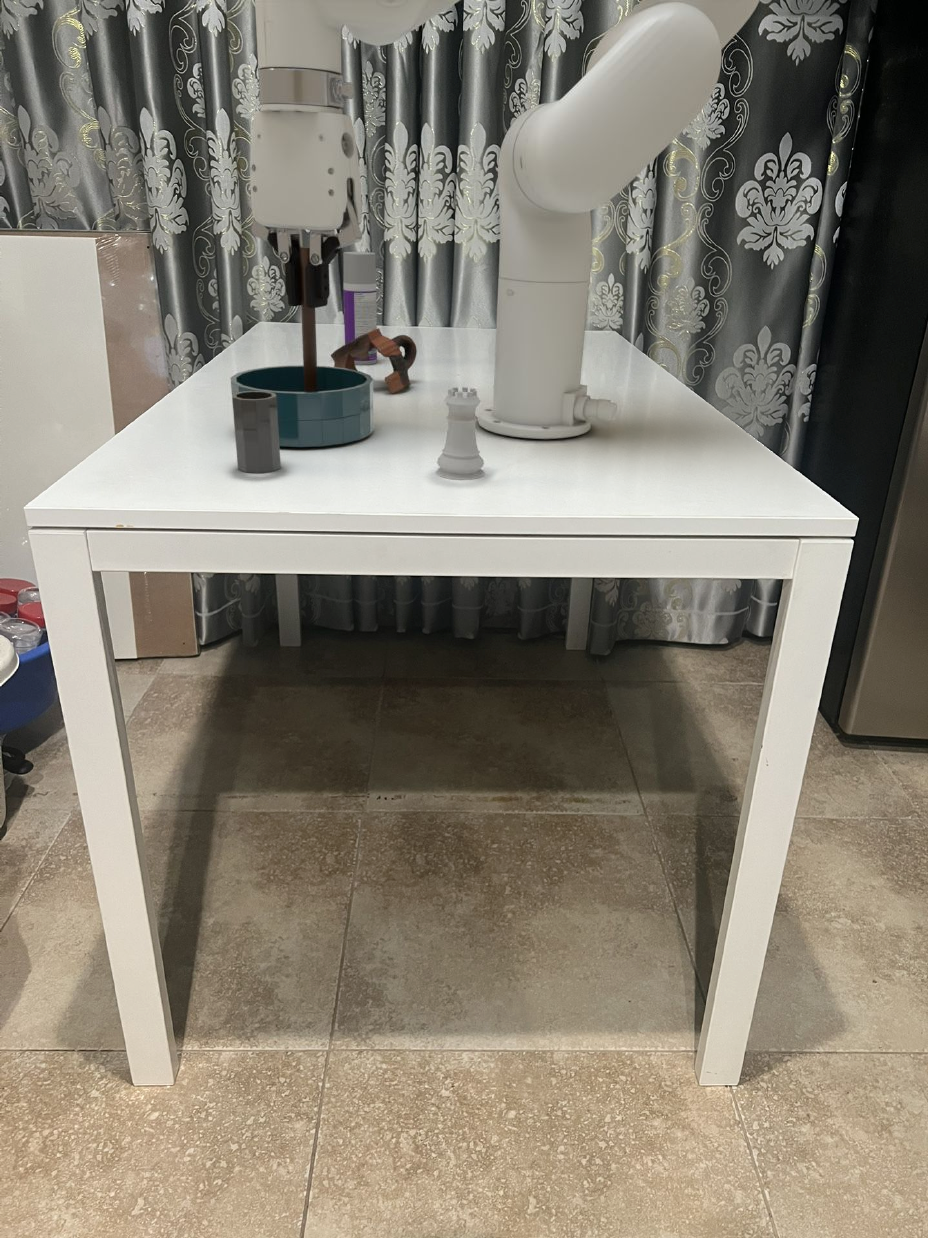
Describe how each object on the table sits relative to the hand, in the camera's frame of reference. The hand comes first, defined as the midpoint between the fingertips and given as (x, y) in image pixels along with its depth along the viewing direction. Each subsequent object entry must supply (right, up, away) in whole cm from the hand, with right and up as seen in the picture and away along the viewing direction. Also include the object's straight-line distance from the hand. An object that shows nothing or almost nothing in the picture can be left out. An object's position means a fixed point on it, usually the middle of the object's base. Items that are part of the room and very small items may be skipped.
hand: (308, 304), depth 91 cm
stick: (0, -10, +5) cm, 11 cm away
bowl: (-1, -13, +3) cm, 13 cm away
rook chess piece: (+15, -19, -8) cm, 26 cm away
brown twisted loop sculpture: (+5, -1, +28) cm, 28 cm away
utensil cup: (-3, -18, -9) cm, 20 cm away
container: (+1, +6, +43) cm, 43 cm away
